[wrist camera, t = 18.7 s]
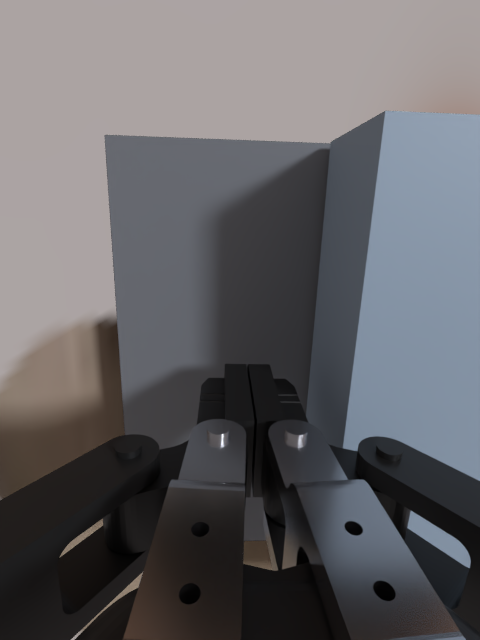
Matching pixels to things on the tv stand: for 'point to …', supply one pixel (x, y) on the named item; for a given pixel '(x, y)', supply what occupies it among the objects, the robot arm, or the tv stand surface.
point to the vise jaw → (402, 294)
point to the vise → (212, 271)
